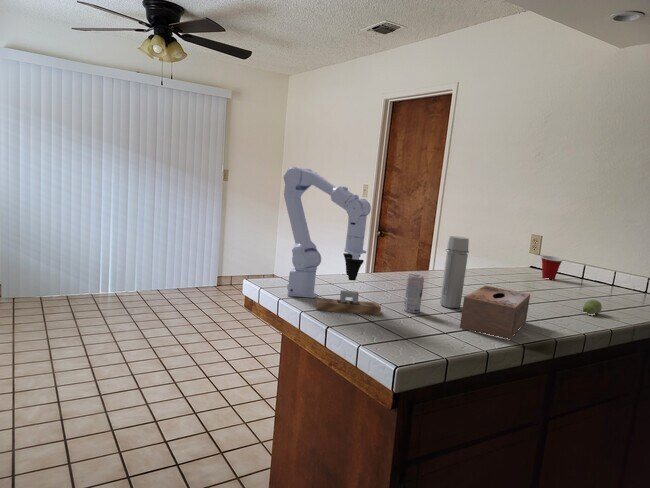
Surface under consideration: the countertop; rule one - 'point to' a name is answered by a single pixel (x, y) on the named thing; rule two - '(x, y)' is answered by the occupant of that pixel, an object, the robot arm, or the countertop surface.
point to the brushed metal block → (351, 294)
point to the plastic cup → (550, 266)
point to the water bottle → (454, 272)
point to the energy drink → (413, 293)
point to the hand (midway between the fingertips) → (350, 277)
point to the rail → (348, 306)
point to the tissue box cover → (495, 311)
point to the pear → (592, 306)
